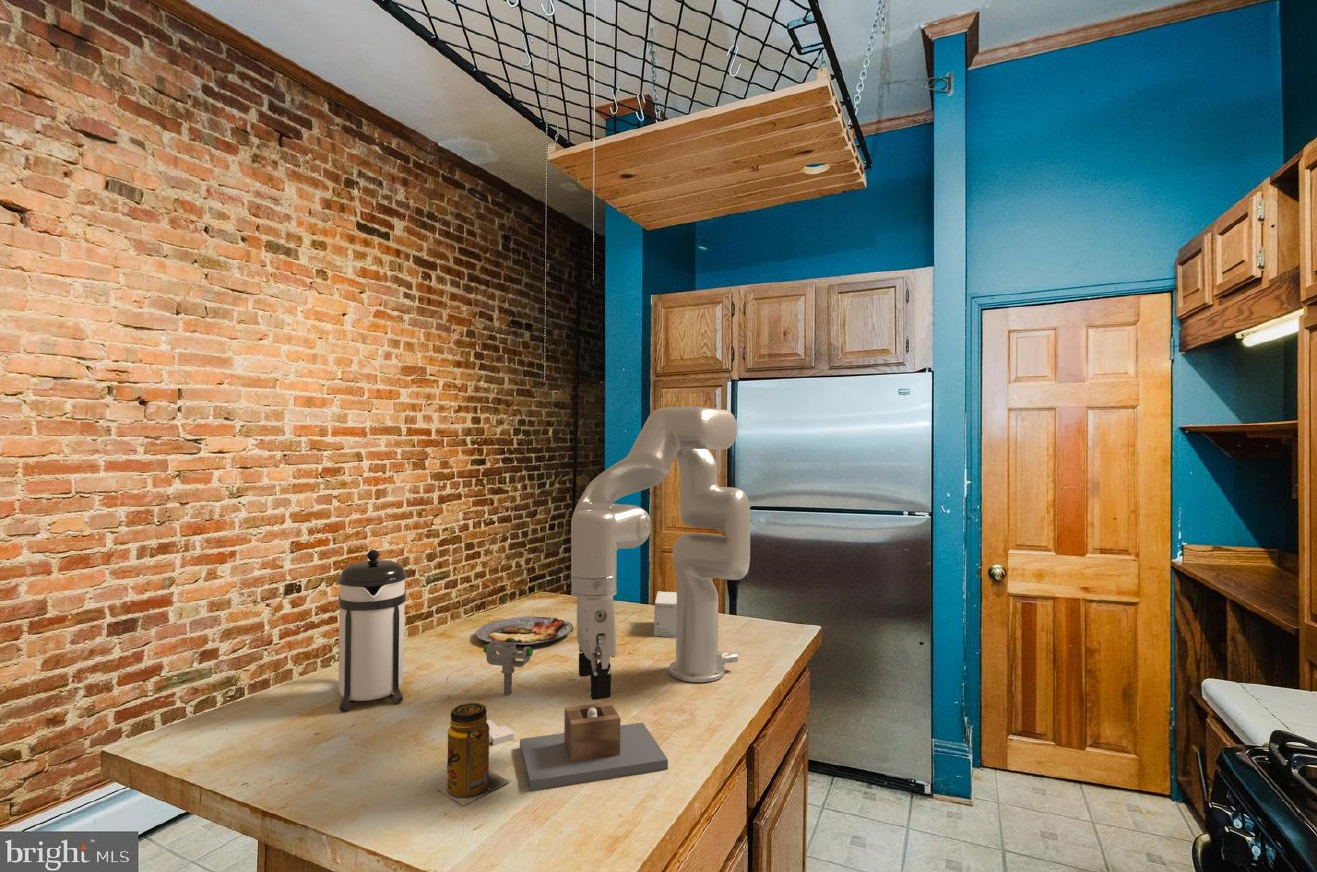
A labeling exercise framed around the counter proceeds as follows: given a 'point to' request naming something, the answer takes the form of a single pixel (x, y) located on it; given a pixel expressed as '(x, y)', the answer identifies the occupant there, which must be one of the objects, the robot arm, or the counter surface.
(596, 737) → the hollow block
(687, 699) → the counter surface
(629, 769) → the pin board
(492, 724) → the corner connector
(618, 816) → the counter surface
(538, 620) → the food plate
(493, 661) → the mechanical component
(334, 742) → the counter surface
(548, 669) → the counter surface
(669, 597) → the supplement box
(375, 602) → the coffee press
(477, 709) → the condiment
